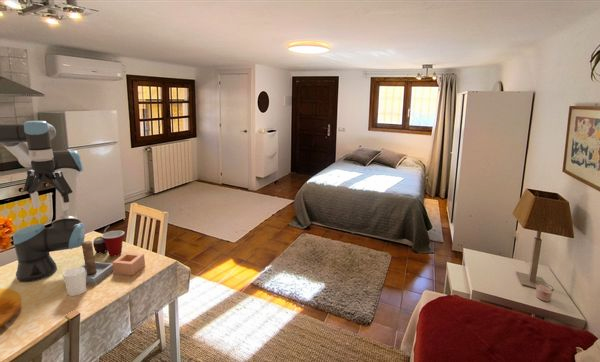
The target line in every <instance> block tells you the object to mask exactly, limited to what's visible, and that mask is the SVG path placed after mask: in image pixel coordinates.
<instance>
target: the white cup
mask: <svg viewBox="0 0 600 362" xmlns="http://www.w3.org/2000/svg"><path fill="white" fill-rule="evenodd" d="M62 277H63V281H64V285H65V289H66V290H67V295H68V296H70V297H75V296H80V295H82V294H83V293H85V292H86V291H87V284H86V275H85V268H84V267H80V266H74V267H71V268H67V269H66V270H65V271H63V273H62Z"/></svg>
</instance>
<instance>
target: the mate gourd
mask: <svg viewBox="0 0 600 362" xmlns="http://www.w3.org/2000/svg"><path fill="white" fill-rule="evenodd" d="M109 228H110V225H108V226H106V227H105V229H104V230H103V234H104V233H107V230H108V229H109ZM92 246H93V250H94V252H95V254H96V255H98V254H100V253H103V254H106V251H107V252H108V250H107V248H106V245H105V242H104V240H103V238H102V237H101V236H98V237H95V238H94V240H93V241H92Z"/></svg>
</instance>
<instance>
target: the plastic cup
mask: <svg viewBox="0 0 600 362" xmlns="http://www.w3.org/2000/svg"><path fill="white" fill-rule="evenodd" d="M124 234H125V231H123V230H110V231H108V232H107V231H106V232H105V233H104V232H103V233H102V234H101V236H100V237H102V238H103V240H104V242H105V245H106V248H107V252H108V255H109V256H110V257H118V256H121V255H122V252H123V240H124V236H125V235H124Z"/></svg>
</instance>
